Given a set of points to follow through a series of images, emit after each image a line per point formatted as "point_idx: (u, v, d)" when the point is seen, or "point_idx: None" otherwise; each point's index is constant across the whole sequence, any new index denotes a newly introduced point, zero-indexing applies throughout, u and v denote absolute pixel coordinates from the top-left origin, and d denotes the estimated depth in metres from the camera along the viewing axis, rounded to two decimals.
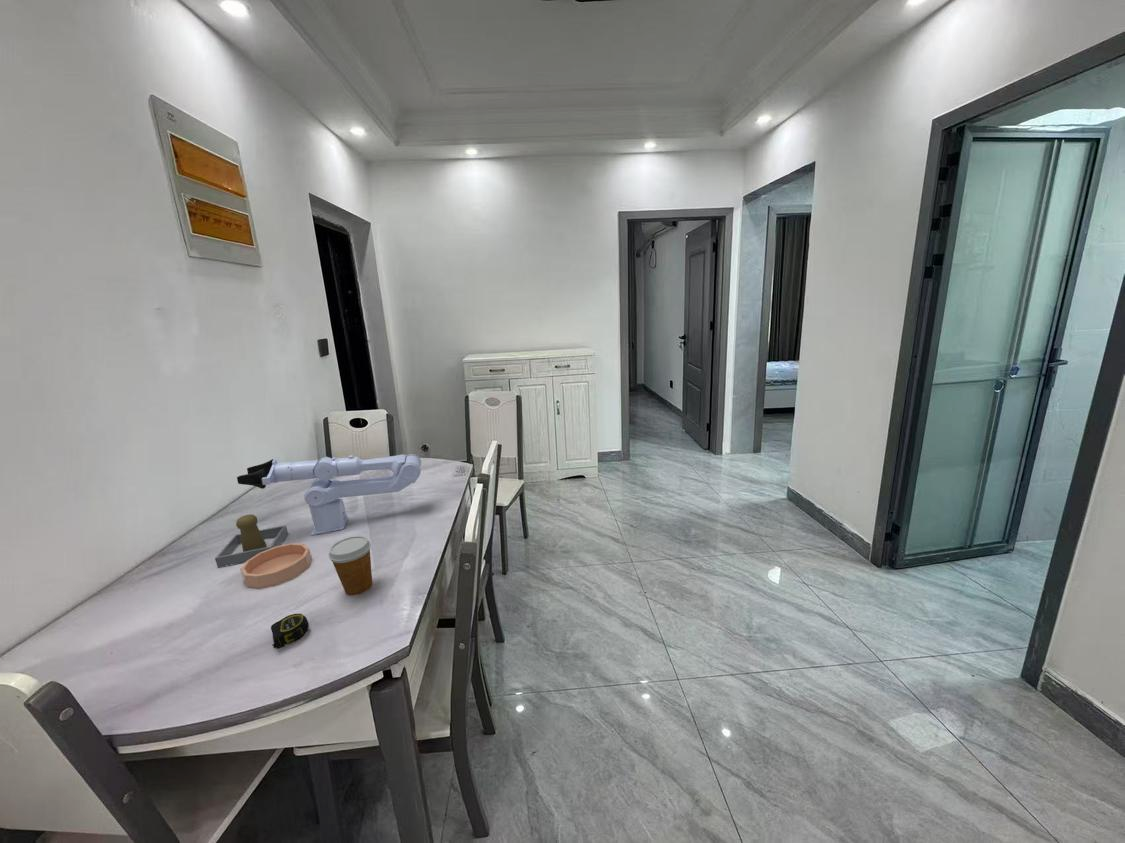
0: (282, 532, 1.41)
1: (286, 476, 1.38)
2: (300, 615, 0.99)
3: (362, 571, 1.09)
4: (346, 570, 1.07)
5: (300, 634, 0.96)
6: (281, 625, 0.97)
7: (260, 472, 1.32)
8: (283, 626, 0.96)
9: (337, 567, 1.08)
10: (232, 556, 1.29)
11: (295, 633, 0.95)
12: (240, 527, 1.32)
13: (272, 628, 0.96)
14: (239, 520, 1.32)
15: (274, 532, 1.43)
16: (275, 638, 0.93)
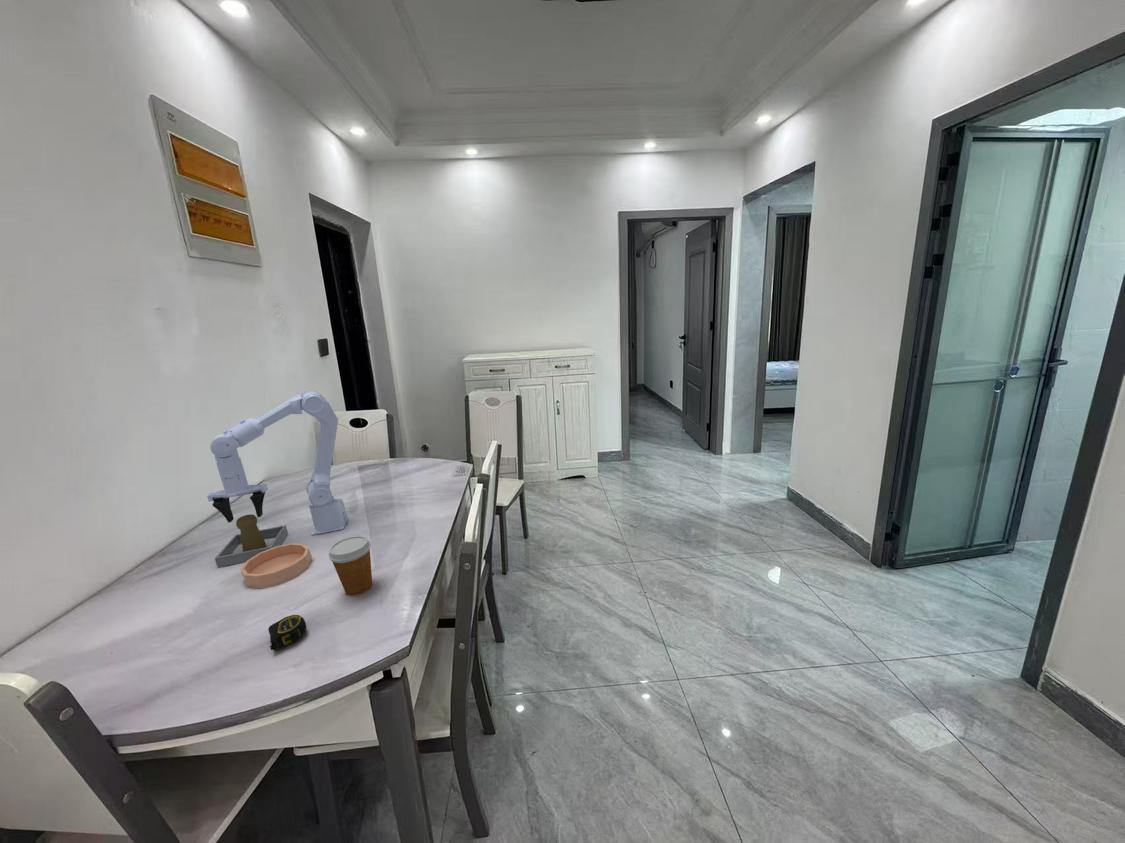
0: (282, 532, 1.41)
1: None
2: (298, 616, 0.99)
3: (362, 571, 1.09)
4: (346, 570, 1.07)
5: (298, 635, 0.95)
6: (278, 627, 0.96)
7: (259, 496, 1.31)
8: (280, 628, 0.96)
9: (337, 567, 1.08)
10: (232, 556, 1.29)
11: (293, 635, 0.95)
12: (240, 527, 1.32)
13: (269, 629, 0.96)
14: (239, 520, 1.32)
15: (274, 532, 1.43)
16: (272, 640, 0.93)
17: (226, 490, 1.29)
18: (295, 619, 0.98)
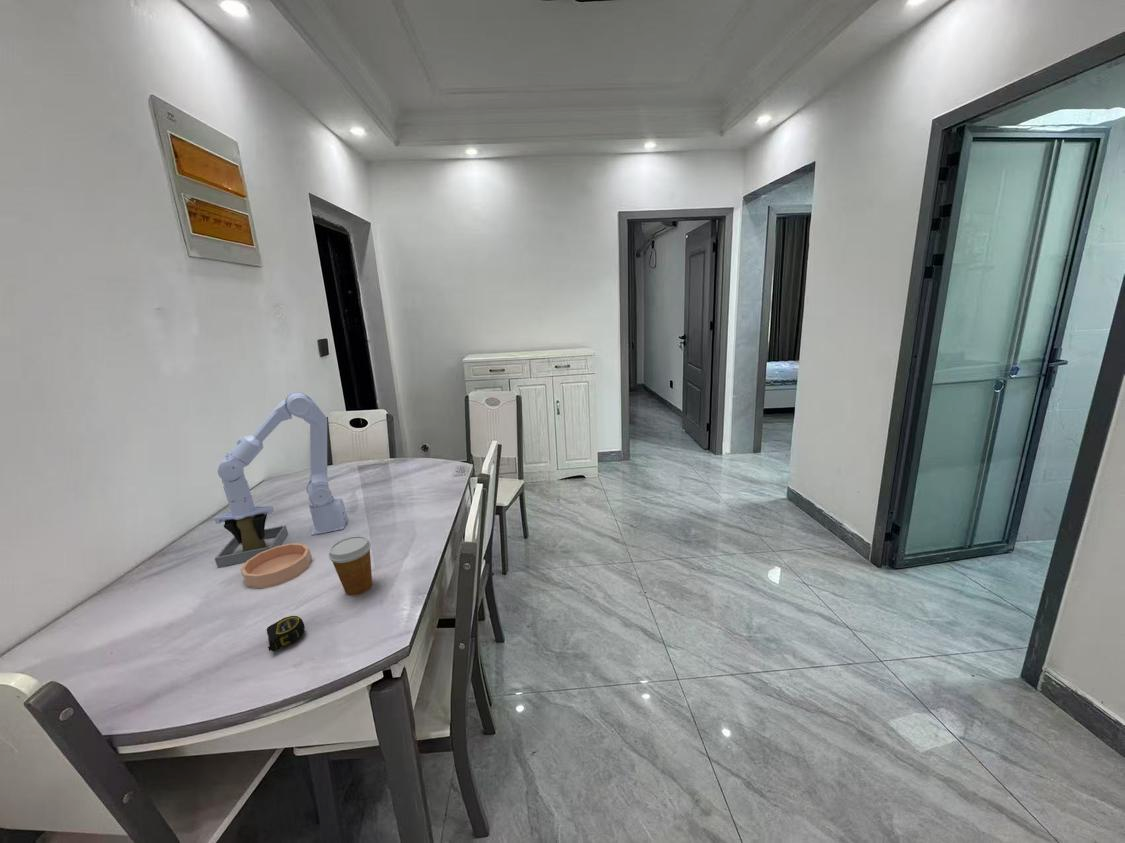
0: (282, 532, 1.41)
1: (252, 499, 1.34)
2: (296, 617, 0.98)
3: (362, 571, 1.09)
4: (346, 570, 1.07)
5: (296, 636, 0.95)
6: (276, 628, 0.96)
7: (261, 519, 1.33)
8: (279, 629, 0.96)
9: (337, 567, 1.08)
10: (232, 556, 1.29)
11: (291, 636, 0.94)
12: (240, 527, 1.32)
13: (268, 630, 0.96)
14: (239, 520, 1.32)
15: (274, 532, 1.43)
16: (270, 641, 0.92)
17: (233, 512, 1.31)
18: (293, 620, 0.98)
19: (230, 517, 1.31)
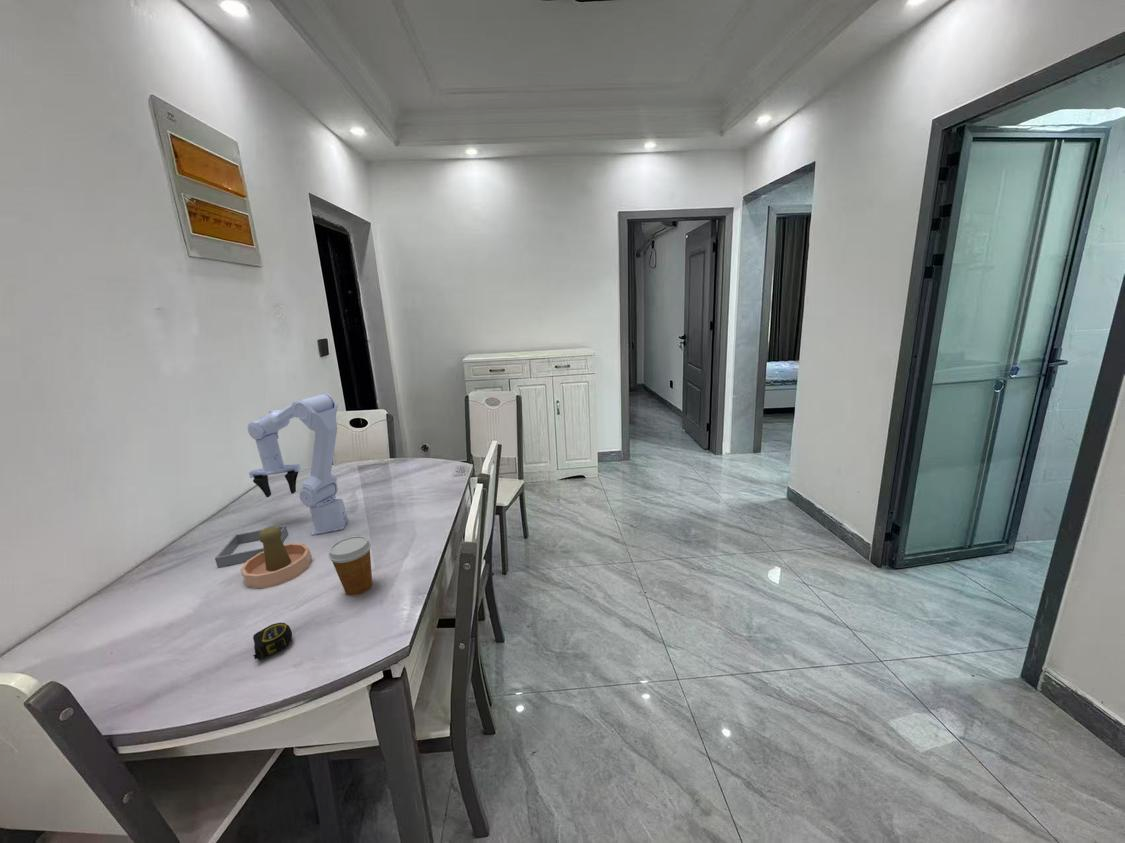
0: (282, 532, 1.41)
1: (281, 457, 1.48)
2: (283, 624, 0.96)
3: (362, 571, 1.09)
4: (346, 570, 1.07)
5: (282, 644, 0.93)
6: (263, 635, 0.94)
7: (292, 475, 1.47)
8: (265, 636, 0.94)
9: (337, 567, 1.08)
10: (232, 556, 1.29)
11: (278, 643, 0.93)
12: (264, 541, 1.21)
13: (254, 638, 0.94)
14: (263, 533, 1.21)
15: None
16: (256, 649, 0.91)
17: (264, 468, 1.45)
18: (280, 627, 0.96)
19: (262, 472, 1.45)
